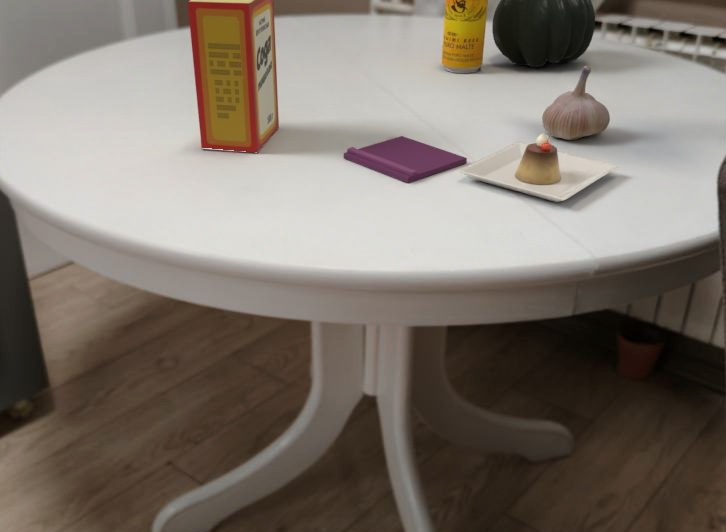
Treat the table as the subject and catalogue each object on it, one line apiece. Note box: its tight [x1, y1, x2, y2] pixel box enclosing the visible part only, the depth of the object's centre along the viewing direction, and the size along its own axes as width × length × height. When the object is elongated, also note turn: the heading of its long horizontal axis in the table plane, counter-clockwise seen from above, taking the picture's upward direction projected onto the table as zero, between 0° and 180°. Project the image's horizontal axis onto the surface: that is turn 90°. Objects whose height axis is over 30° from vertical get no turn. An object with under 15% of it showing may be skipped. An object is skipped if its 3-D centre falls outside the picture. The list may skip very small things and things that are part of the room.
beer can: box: [441, 0, 489, 74], centre depth 118 cm, size 6×6×15 cm
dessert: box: [457, 132, 619, 203], centre depth 82 cm, size 12×12×5 cm
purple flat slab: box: [343, 135, 468, 184], centre depth 88 cm, size 10×9×1 cm
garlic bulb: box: [541, 65, 611, 141], centre depth 93 cm, size 8×7×8 cm
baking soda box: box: [187, 0, 280, 153], centre depth 90 cm, size 10×6×16 cm
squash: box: [491, 0, 596, 68], centre depth 122 cm, size 14×15×15 cm
